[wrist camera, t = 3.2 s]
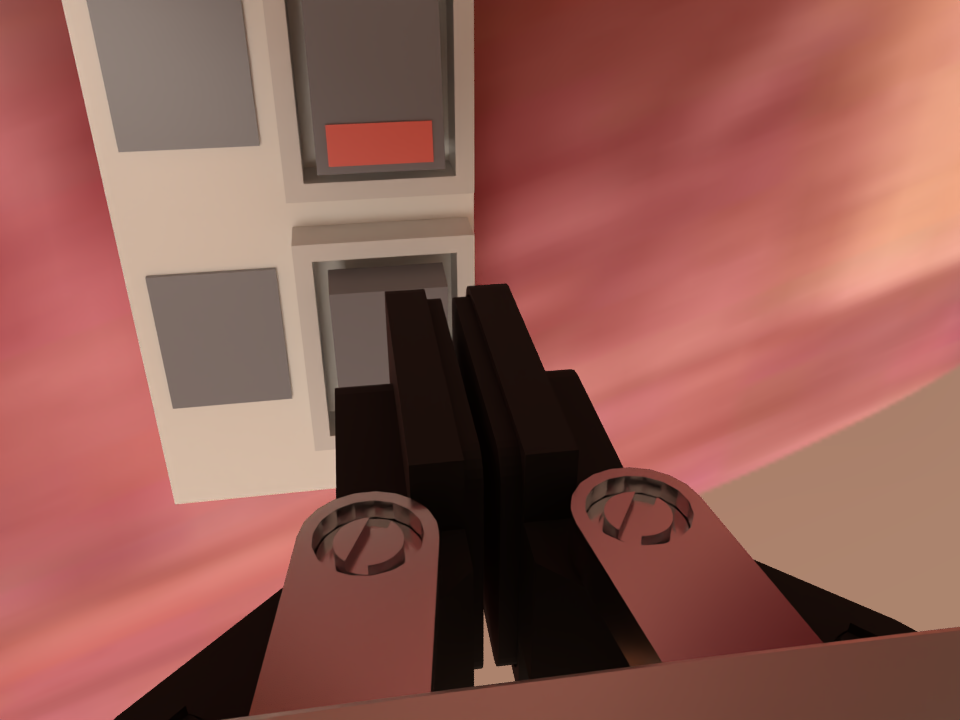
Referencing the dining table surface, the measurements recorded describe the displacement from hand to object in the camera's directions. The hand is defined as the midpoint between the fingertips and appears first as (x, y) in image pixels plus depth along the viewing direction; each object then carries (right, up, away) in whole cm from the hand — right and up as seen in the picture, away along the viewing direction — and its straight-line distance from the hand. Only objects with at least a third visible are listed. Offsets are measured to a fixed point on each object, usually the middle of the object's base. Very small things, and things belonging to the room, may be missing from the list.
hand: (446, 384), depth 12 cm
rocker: (-2, +1, +13) cm, 14 cm away
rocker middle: (-2, +8, +9) cm, 12 cm away
